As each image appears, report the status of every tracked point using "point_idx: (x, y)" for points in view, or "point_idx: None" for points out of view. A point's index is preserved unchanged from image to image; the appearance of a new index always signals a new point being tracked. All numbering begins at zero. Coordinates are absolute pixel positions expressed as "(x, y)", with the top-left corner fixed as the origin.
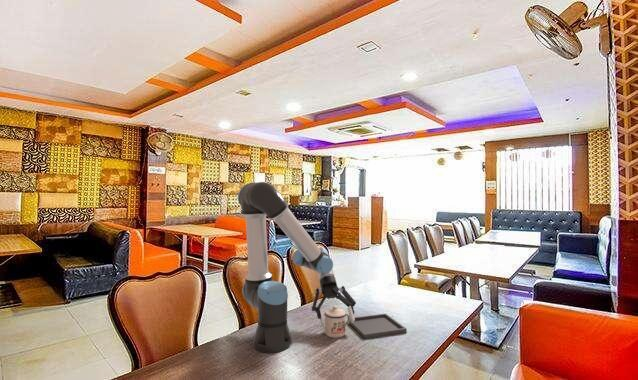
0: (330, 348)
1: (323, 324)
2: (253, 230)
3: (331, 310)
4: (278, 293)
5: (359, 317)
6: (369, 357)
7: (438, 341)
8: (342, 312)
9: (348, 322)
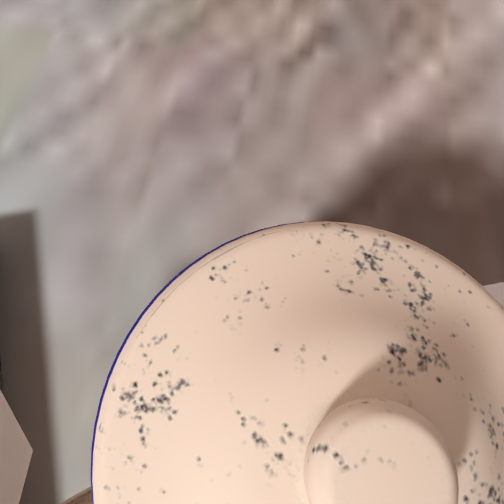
0: (361, 112)
1: (497, 288)
2: None
3: (465, 395)
4: None
5: None
6: None
7: None
8: (183, 352)
9: (73, 496)
